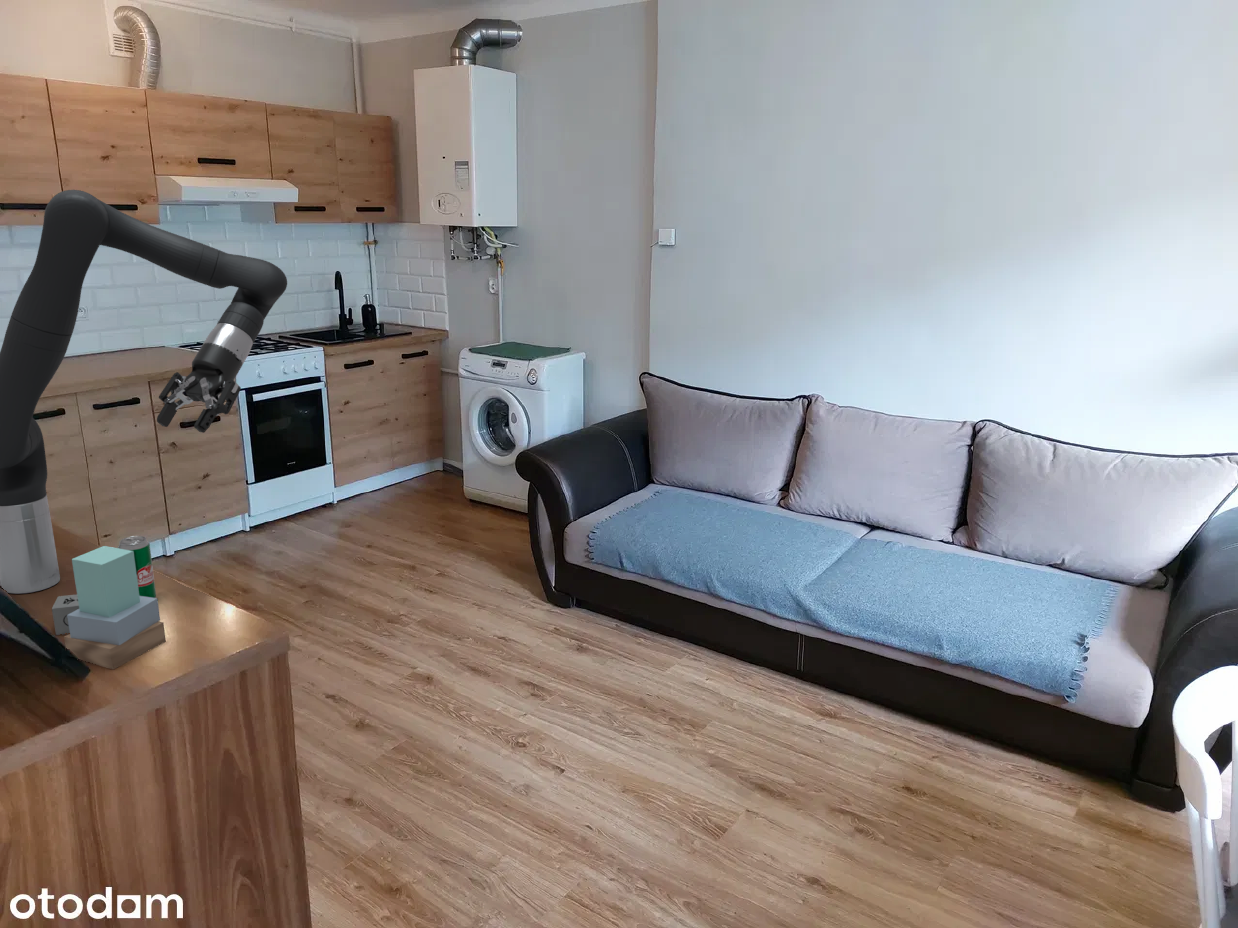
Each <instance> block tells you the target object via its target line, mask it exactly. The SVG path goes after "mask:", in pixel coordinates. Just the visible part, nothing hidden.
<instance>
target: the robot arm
mask: <svg viewBox="0 0 1238 928" xmlns="http://www.w3.org/2000/svg"><path fill="white" fill-rule="evenodd" d="M100 246H103V247H107V248H112V249H116V250H118V251H119V250H120V251H122V252H125V253H129V254H131V255H134V256H137V257H139V258H141V259H143V260H144V261H145V260H146V261H148V262H150V263H152V264H153V265H156V266H158V267H160V268H161V269H162V268H163V269H164V270H167V271H168V272H171V273H173V274H176V275H178V276H181V277H183V278H185V279H188V280H190V281H193V282H197V283H199V284H202V285H205V286H208V287H211V288H215V289H221V290H222V289H226V288H228V287H235V288H237V290H236V291H235V293H234V296H233V298H232V300H231V302H230V304H229V305H228V306H227V307H226V308H225V310H224V312H223V313H222V314H221V317H220V318H219V319H218V321H217V323H216V325H215V326H214V328H212V330H211V331H210V332H209V333H208V335H207V337H206V338H205V340H204V341H203V344H202V345H201V346H200V349H198V352H197V353H196V355H195V356H194V357H193V359H192V362H191V367H192V369H191V371H190V373H189V374H188V375H187V376H186V375H182V374H181V373H180V372H177V371H176V372H175V373H173V374H172V376H171V378H169V381H168V382H167V384H166V385H165V386H164V387H163V389H162V390H161V392H160V394H158V399H159V400H160V401H162V402H163V404H164V405H163V407H162V409H161V410H160V412H159V413H158V415H157V417H156V423H158V424H159V425H160V426H161V427H166V428H168V427H169V426H170V424H171V422H172V421H173V419H174V418H175V416H176V414H177V412H178V409H181V408H182V407H183V406H185V405H191V404H192V403H193V402H202V403H204V404H205V408H206V409H204V408H203V409H202V411H201V413H200V414H199V416H198V418H197V419H196V420H195V423H194V425H193V427H194V429H195V430H196V431H198V432H200V433H206V431H207V430H208V429H209V428H210V426H211V424H212V423H213V421H214V420H215V418H216V417H218V416H219V415H220V414H224V415H228V414H229V413H230V412H231V410H232V408H233V406H234V404H235V402H236V400H237V398H238V396H239V394H240V392H241V390H242V388H241V386H240V385H239V384H238V383H237V382H236V381H235V379H236V378H237V376H238V373H239V372H240V370H241V368H242V367H243V364H244V363H245V361H246V359H247V358H248V356H249V354H250V352H251V350H252V347H253V344H254V342H255V341H256V339H257V337H258V336H259V334H260V332H261V331H262V328H263V326H264V322H265V319H266V318H267V316H268V314H269V312H270V311H271V310H272V308H273V306H274V305H275V303H276V302H277V301H278V300H279V299H280V298H281V296H283V294H284V293H285V292H286V290H287V287H288V278H287V275H286V274H285V272H284V271H283V270H282V269H281V268H279V266H278V265H275V264H273V263H272V262H270V261H267V260H266V259H265V260H264V259H261V258H256V257H251V256H246V255H240V254H232V253H228V252H225V251H222V250H221V249H217V248H215V247H212V246H210V245H207V244H204V243H202V242H198V241H196V240H193V239H190V238H188V237H185V236H182V235H179V234H176V233H174V232H171V231H168V230H164V229H162V228H159V227H156V226H154V225H151V224H149V223H146V222H144V221H141V219H140V220H139V219H137V218H135V217H132V216H131V215H128V214H126V213H124V212H123V211H120V210H118V209H116V208H115V207H113V206H111V205H109V204H107V203H105V202H104V201H102V200H100V199H99V198H96V197H95V196H94V195H93V194H91V193H89V192H86V191H84V190H81V189H68V190H67V189H66V190H62V191H60V192H58V193H57V194H55V195H54V196H53V197H52V198H51V199H50V200H49V202H48V203H47V204H46V207H45V210H44V215H43V225H42V231H41V236H40V241H39V246H38V250H37V254H36V258H35V262H34V265H33V267H32V270H31V271H30V274H29V275H28V277H27V279H26V281H25V283H24V284H23V287H22V289H21V291H20V293H19V296H17V300H16V302H15V305H14V307H13V309H12V312H11V315H10V318H9V321H8V324H7V327H6V330H5V334H4V338H3V342H2V345H1V349H0V587H1V589H2V588H3V589H4V590H6V591H7V592H6V593H8V594H29V593H34V592H39V591H42V590H46V589H49V588H51V587H53V586H55V585H56V584H58V583H59V582H60V581H61V576H60V570H59V564H58V563H59V562H58V557H57V556H58V555H57V550H56V543H55V542H56V541H55V537H54V529H53V524H52V518H51V512H50V506H49V499H48V495H47V494H48V493H47V480H48V466H47V456H46V449H45V448H46V447H45V442H44V435H43V431H42V430H41V427H40V425H39V424H38V423H39V422H37V421H36V419H35V418H34V417H33V416H34V414H35V410H36V407H37V405H38V402H39V400H40V398H41V397H42V395H43V393H44V391H45V390H46V389H47V387H48V385H49V384H50V382H51V381H52V379H53V377H54V376H55V374H56V373H57V371H58V370H59V368H60V366H61V364H62V362H63V360H64V358H65V356H66V353H67V351H68V349H69V348H68V347H69V344H70V342H71V340H72V339H71V338H72V336H73V333H74V330H75V326H76V322H77V317H78V313H79V308H80V304H81V303H80V302H81V298H82V297H81V296H82V295H81V293H82V289H83V286H84V285H83V284H84V281H85V278H86V275H87V273H88V270H89V269H90V266H91V264H92V262H93V260H94V257H95V255H96V253H97V251H98V249H99V248H100ZM184 392H185V394H186V395H185V394H184ZM169 394H170V395H169ZM177 399H179V400H178V401H176V400H177Z"/></svg>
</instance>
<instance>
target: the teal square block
mask: <svg viewBox="0 0 1238 928" xmlns="http://www.w3.org/2000/svg"><path fill="white" fill-rule="evenodd" d="M71 564H72V570H73V576H74V583H75V590H76V594H77V597H78V603H79V609H80V611H81V612H86V613H91V614H95V615H100V616H105V617H111V616H113V615H115V614H117V613H119V612H121V611H123V610H125V609H127V608H129V607H131V606H133V605H135V604H137V603H139V602H140V597H139V589H138V582H137V574H136V567H135V559H134V551H130V550H124V549H119V548H118V547H112V546H107V545H103V546H100V547H97V548H96V549H93V550H91V551H88V552H86V553H83V554H81V555H78V556H75V557H73V558H72V559H71Z"/></svg>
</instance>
